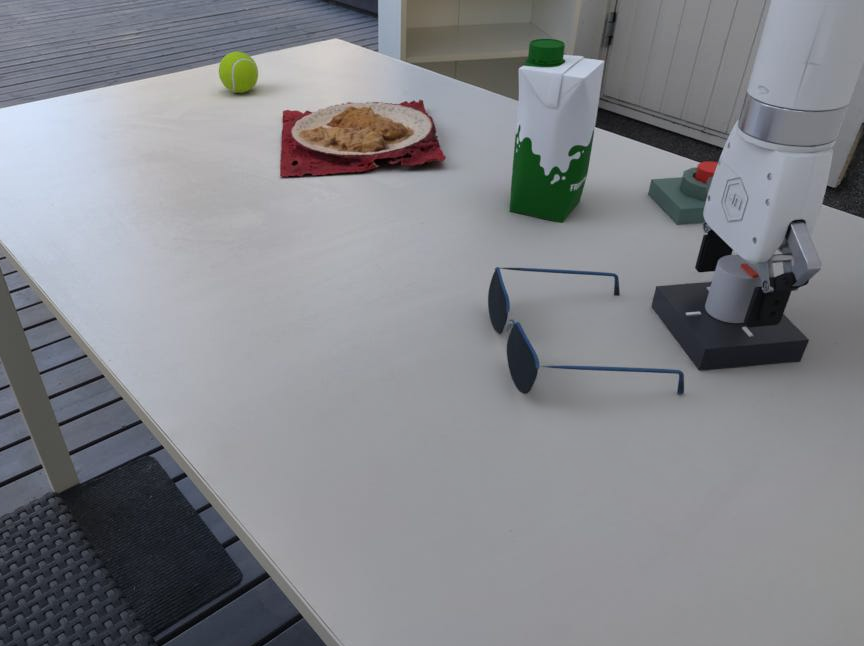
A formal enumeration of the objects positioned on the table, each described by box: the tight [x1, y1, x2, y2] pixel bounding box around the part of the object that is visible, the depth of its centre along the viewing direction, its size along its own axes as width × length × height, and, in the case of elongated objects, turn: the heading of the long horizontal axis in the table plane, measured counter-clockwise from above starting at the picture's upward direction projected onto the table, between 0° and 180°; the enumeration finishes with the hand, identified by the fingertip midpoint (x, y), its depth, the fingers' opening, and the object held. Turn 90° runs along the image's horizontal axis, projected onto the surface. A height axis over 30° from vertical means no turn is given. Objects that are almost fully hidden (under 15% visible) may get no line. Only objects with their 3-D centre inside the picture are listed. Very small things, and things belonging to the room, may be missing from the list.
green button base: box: [647, 166, 707, 226], centre depth 95 cm, size 11×9×4 cm
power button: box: [695, 161, 719, 183], centre depth 93 cm, size 4×4×2 cm
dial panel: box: [650, 281, 810, 371], centre depth 73 cm, size 10×11×3 cm
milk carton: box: [509, 38, 606, 224], centre depth 91 cm, size 9×9×20 cm
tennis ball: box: [218, 51, 259, 94], centre depth 134 cm, size 7×7×7 cm
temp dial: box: [705, 254, 761, 323], centre depth 70 cm, size 4×4×5 cm
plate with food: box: [279, 99, 447, 178], centre depth 115 cm, size 24×26×4 cm
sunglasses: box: [487, 266, 685, 395], centre depth 71 cm, size 17×15×5 cm
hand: (734, 295), depth 71 cm, fingers open, 9 cm apart
